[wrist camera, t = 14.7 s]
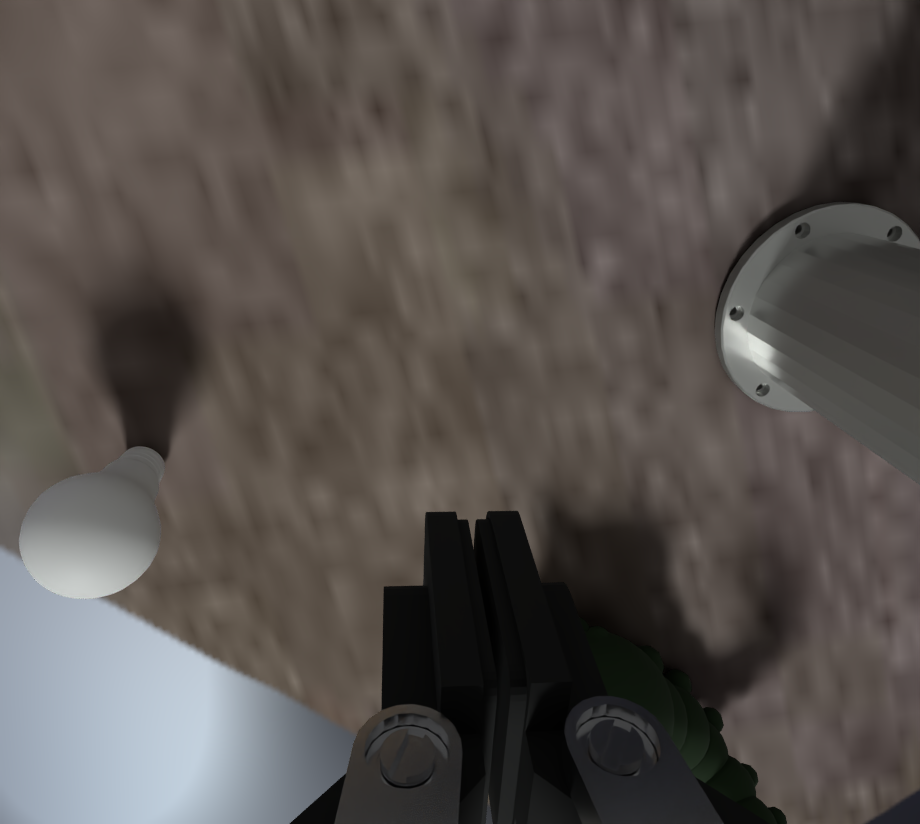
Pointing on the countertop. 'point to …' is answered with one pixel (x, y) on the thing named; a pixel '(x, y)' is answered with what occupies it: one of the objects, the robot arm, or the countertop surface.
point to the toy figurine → (677, 716)
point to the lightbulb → (95, 528)
